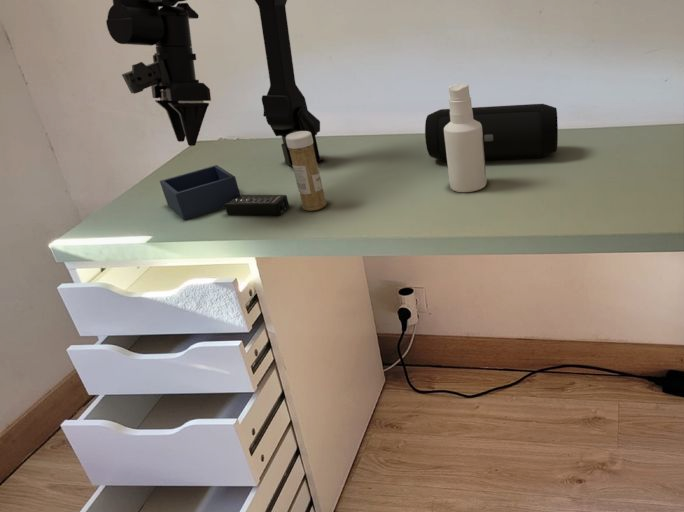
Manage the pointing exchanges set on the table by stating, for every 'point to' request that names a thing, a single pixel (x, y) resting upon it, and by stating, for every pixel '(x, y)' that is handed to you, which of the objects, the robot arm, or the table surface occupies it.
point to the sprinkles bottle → (306, 170)
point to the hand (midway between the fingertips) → (186, 143)
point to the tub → (199, 191)
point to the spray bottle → (464, 143)
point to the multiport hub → (257, 205)
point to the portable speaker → (502, 131)
